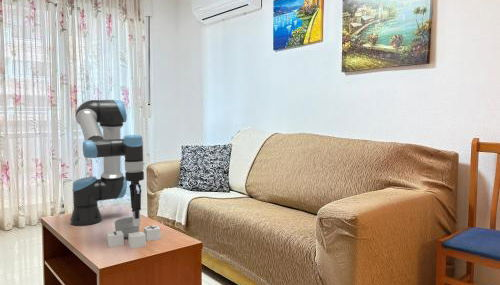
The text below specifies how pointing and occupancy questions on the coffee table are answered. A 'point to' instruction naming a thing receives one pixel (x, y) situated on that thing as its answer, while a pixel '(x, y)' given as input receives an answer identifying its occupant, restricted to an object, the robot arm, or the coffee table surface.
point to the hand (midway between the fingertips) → (136, 225)
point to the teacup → (125, 226)
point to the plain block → (137, 239)
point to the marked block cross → (152, 233)
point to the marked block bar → (115, 239)
